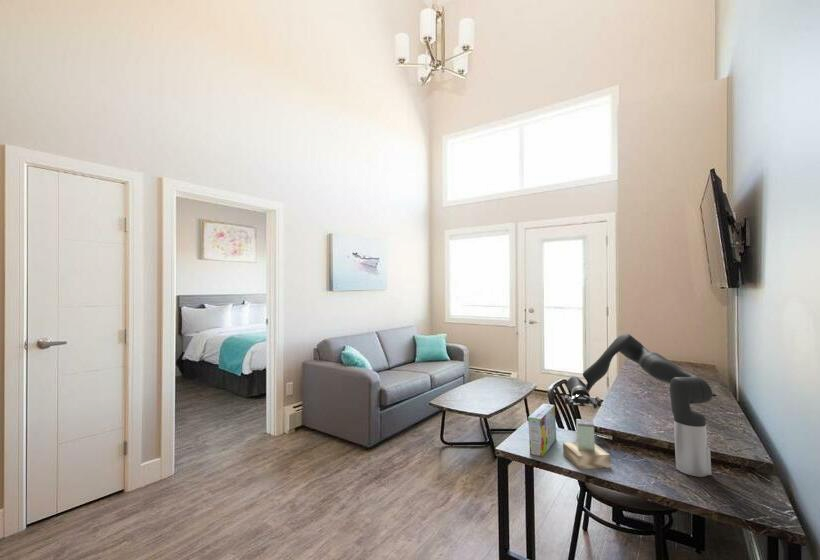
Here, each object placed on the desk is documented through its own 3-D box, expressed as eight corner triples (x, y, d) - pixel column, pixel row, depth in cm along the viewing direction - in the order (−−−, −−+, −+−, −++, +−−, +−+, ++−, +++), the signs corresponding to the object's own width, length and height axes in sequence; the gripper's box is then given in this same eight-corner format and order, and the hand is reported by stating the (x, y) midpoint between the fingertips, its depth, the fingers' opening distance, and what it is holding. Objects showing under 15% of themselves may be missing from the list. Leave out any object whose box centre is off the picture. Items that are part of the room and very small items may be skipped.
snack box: (543, 436, 164) (542, 402, 165) (557, 439, 161) (555, 404, 162) (528, 454, 147) (527, 416, 148) (542, 457, 144) (541, 418, 144)
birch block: (592, 453, 147) (591, 441, 147) (610, 468, 135) (610, 454, 135) (563, 455, 146) (562, 442, 147) (579, 469, 134) (578, 456, 135)
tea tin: (576, 444, 145) (576, 418, 145) (592, 446, 143) (591, 420, 143) (578, 450, 139) (577, 423, 140) (594, 452, 138) (594, 425, 138)
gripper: (563, 386, 172) (564, 394, 157) (597, 388, 167) (602, 397, 152) (564, 402, 172) (565, 412, 157) (598, 404, 167) (602, 416, 151)
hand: (583, 405), depth 154 cm, fingers open, 8 cm apart
